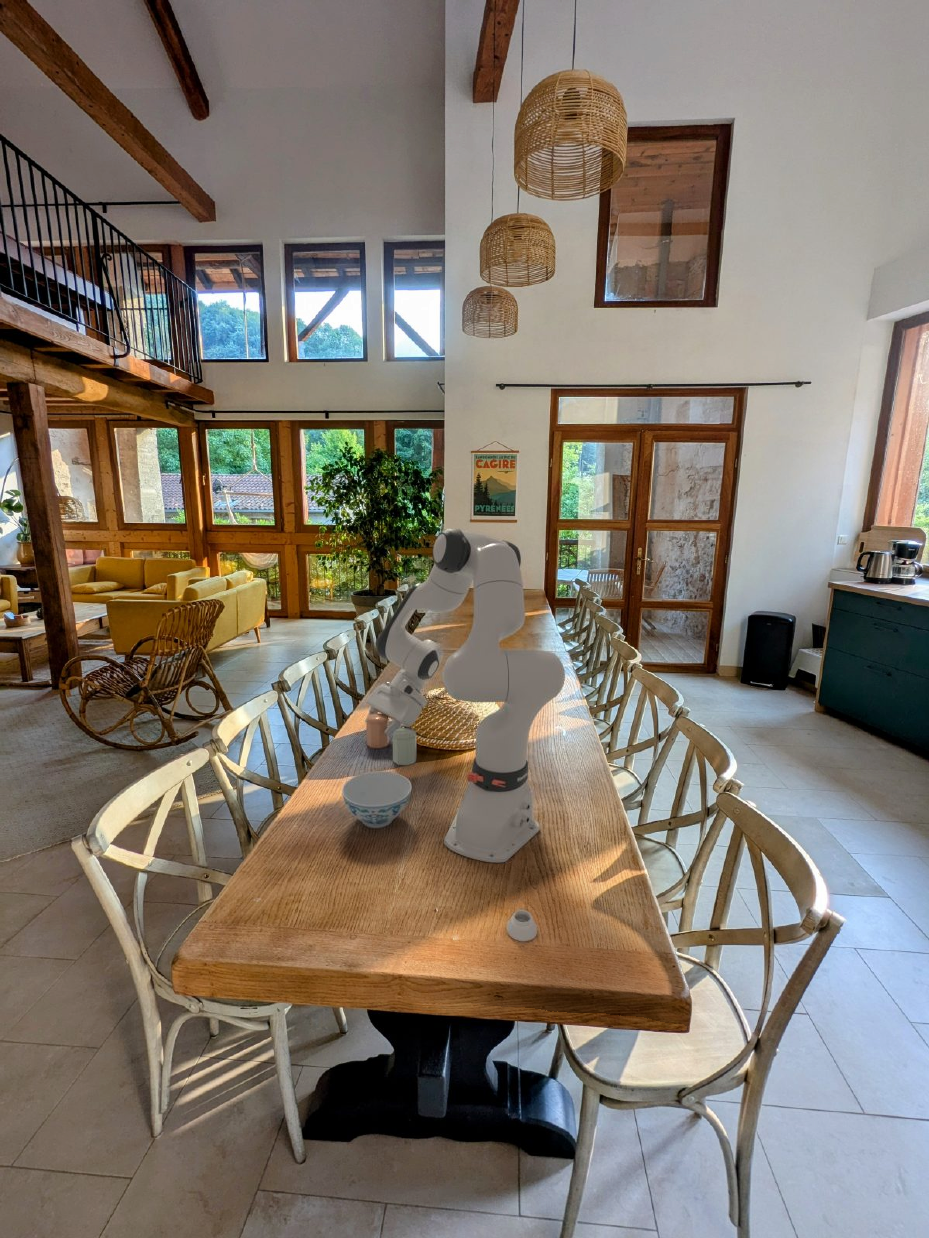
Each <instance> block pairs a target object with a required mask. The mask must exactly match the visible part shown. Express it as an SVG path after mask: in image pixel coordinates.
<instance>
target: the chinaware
mask: <svg viewBox="0 0 929 1238" xmlns="http://www.w3.org/2000/svg"><path fill="white" fill-rule="evenodd" d="M412 789H413V787H412V782H411V781H410V780H409V779H408V778H407V777H406V776H403V774H399V773H397V772H393V771H383V770H382V771H370V772H365V773H361V774H358V775H355V776H354V777H351V778H350V779H349V780H347V781H346V782H345V783H344V784H343V786H342V790H341V793H342V798H343V801H344V804H345V806H346V808H347V810H348V811H349V813H350V814H352V816H353V817H355V819H357V820H359V821H361V822H362V824H363V825H365V826H366V827H368V828H373V829H379V828H384V827H386V826H389V825H390V824H391V823H393V821H394V819H395V818H397V817H398V816H399V815H400V814H402V812H404V810H405V808H406V806H407V804H408V803H409V801H410V798H411V793H412Z"/></svg>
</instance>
